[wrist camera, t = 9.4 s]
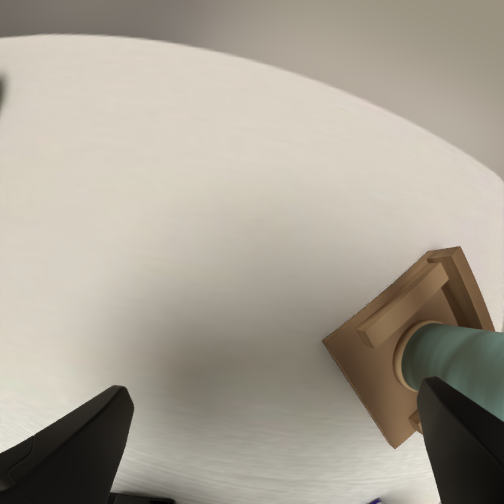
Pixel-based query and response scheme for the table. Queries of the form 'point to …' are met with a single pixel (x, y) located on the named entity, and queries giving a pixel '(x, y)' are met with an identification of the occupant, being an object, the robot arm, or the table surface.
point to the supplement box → (376, 501)
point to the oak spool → (453, 361)
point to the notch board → (392, 327)
